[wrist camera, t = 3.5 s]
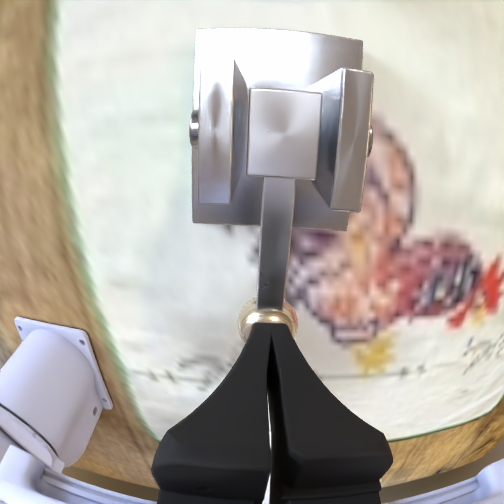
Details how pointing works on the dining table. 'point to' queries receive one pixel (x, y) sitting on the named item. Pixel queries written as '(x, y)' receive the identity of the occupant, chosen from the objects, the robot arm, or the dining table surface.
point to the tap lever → (278, 190)
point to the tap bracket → (236, 122)
